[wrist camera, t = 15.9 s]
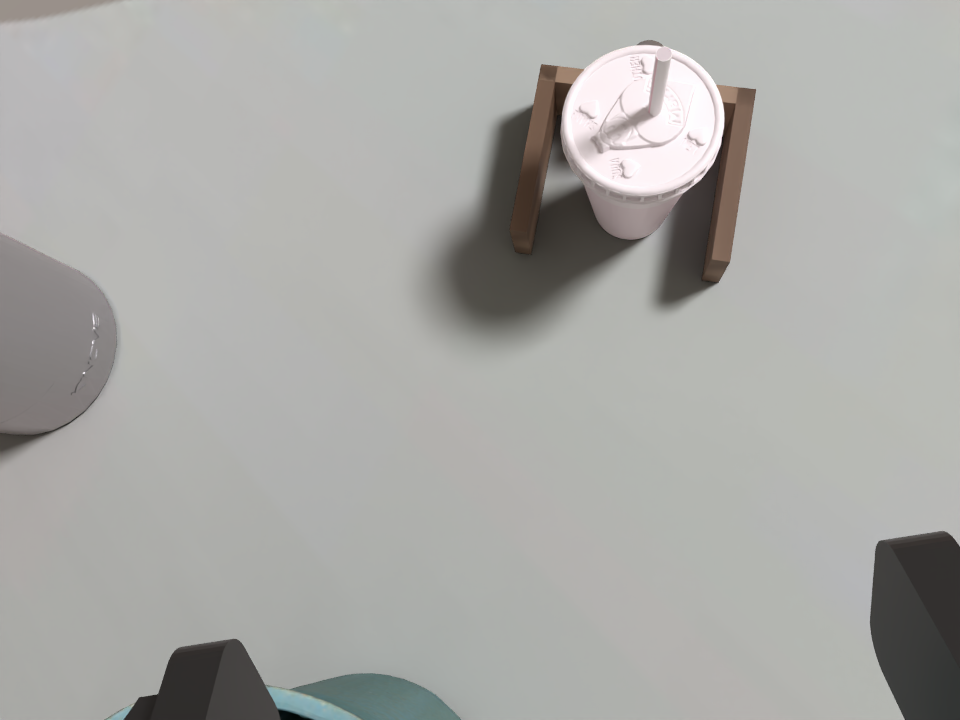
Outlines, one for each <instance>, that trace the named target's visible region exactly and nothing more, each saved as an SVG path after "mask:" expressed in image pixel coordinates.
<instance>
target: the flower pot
mask: <svg viewBox="0 0 960 720" xmlns="http://www.w3.org/2000/svg"><path fill="white" fill-rule="evenodd" d="M265 686H266V688H267V690H268V691H269V693H270V695H271V697H272V699H273V701H274V702H275V704H276V707H277V709H278V712H279V716H280V720H461V719H460V718H459V717H458V716H457V715H456V714H455V713H454V712H453V711H452V710H451V709H450V708H449V707H448V706H447V705H446V704H445V703H444V702H443V701H442V700H441V699H440V698H438V697H437V696H436V695H435V694H434V693H432V692H430V691H429V690H427V689H425V688H423V687H421V686H419V685H417V684H415V683H412V682H410V681H407V680H404V679H401V678H397V677H393V676H388V675H381V674H372V673H371V674H351V675H344V676H340V677H336V678H331V679H327V680H323V681H320V682H316V683H313V684H308V685H304V686H299V687H296V688H293V689H284V688H280V687H274V686H268V685H265ZM157 695H158V694H157ZM134 704H135V703H134ZM134 704H132V705H130V706H128V707H126V708H124V709H122V710H120V711H118V712H116V713H115V714H113V715H112V716H110V717H108V718H107V719H105V720H124V718H125V717H126V715H127V714H128V713H129V711H130V710H131V708H132V707H133V706H134Z"/></svg>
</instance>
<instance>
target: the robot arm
mask: <svg viewBox="0 0 960 720" xmlns="http://www.w3.org/2000/svg"><path fill="white" fill-rule="evenodd" d="M116 346H117V336H116V324H115V320H114V316H113V312H112V309H111V307H110V305H109V303H108V301H107V299H106V297H105V295H104V293H103V292H102V291H101V290H100V289H99V288H98V286H97V285H96V284H95V283H94V282H93V281H92V280H91V279H89V278H88V277H87V276H85V275H84V274H82V273H81V272H80V271H78V270H76V269H74V268H72V267H69V266H67V265H65V264H63V263H61V262H59V261H57V260H55V259H53V258H51V257H49V256H47V255H45V254H43V253H41V252H39V251H37V250H35V249H33V248H31V247H29V246H27V245H25V244H23V243H21V242H19V241H17V240H15V239H13V238H11V237H9V236H7V235H4V234H2V233H0V432H1V433H8V434H14V435H36V434H40V433H44V432H48V431H52V430H54V429H56V428H59V427H61V426H63V425H65V424H67V423H69V422H70V421H72V420H73V419H74V418H76V417H77V416H78V415H80V414H81V413H82V412H84V411H85V410H86V409H87V408H88V406H89V405H90V404H91V403H92V402H93V401H94V400H95V399H96V398H97V396H98V395H99V393H100V391H101V390H102V388H103V386H104V385H105V383H106V381H107V380H108V377H109V374H110V371H111V369H112V366H113V363H114V359H115V352H116ZM870 628H871V635H872V641H873V645H874V649H875V653H876V656H877V659H878V662H879V665H880V667H881V670H882V672H883V674H884V677H885V679H886V681H887V683H888V685H889V687H890V689H891V691H892V693H893V695H894V698H895V700H896V702H897V704H898V706H899V708H900V710H901V712H902V714H903V717H904V719H905V720H960V546H959V545H958V543H957V542H956V541H955V539H954V538H953V537H952V536H951V535H950V534H948V533H947V532H945V531H939V532H933V533H926V534H920V535H913V536H907V537H901V538H894V539H888V540H881V541H879V542H878V544H877V546H876V551H875V563H874V576H873V589H872V601H871V614H870ZM124 720H280V716H279V712H278V709H277V707H276V704H275V702H274V701H273V699H272V697H271V695H270V693H269V691H268V690H267V688H266V686H265V684H264V682H263V680H262V679H261V677H260V675H259V673H258V671H257V669H256V668H255V666H254V664H253V662H252V660H251V658H250V657H249V655H248V653H247V651H246V649H245V648H244V646H243V644H242V643H241V642H240V641H239V640H237V639H230V640H223V641H217V642H211V643H204V644H198V645H191V646H185V647H180V648H178V649H176V650H175V651H174V653H173V654H172V656H171V657H170V660H169V662H168V665H167V668H166V671H165V674H164V678H163V681H162V684H161V687H160V690H159V693H158V695H152V696H145V697H139V699H138V700H137V702H136V703H135V704H134V706H133V707H132V708H131V710H130V711H129V713H128V714H127V715H126V717H125V718H124Z"/></svg>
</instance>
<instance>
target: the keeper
mask: <svg viewBox="0 0 960 720" xmlns="http://www.w3.org/2000/svg"><path fill="white" fill-rule="evenodd" d="M637 45H653V46H661V47H664V46H663V45H662V44H660V43H659V42H656V41H652V40H647V41H643V42H641V43H639V44H637ZM637 45H636V46H637ZM584 70H585V69H577V68H568V67H560V66H551V65H543V64H541V68H540V73H539V79H538V84H537V89H536V94H535V99H534V105H533V110H532V115H531V120H530V125H529V131H528V136H527V141H526V146H525V151H524V157H523V162H522V167H521V172H520V177H519V182H518V188H517V193H516V198H515V203H514V208H513V214H512V219H511V224H510V229H509V230H510V234H511V238H512V241H513V245H514V249H515V252H518V253H524V254H531V253H532V248H533V242H534V237H535V232H536V226H537V221H538V216H539V210H540V205H541V200H542V194H543V189H544V184H545V178H546V173H547V168H548V162H549V157H550V152H551V146H552V141H553V136H554V130H555V125H556V120H557V115H561V116H562V112H563V107H564V103H565V100H566V97H567V95H568V92H569V90H570V88H571V86H572V85H573V83H574V82H575V80H576V79H577V77H578V76H579V75H580V74H581V73H582V72H583V71H584ZM716 86H717V88H718V90H719V93H720V96H721V99H722V103H723V108H724V130H723V135H722V136H724V140H723V147H722V153H721V160H720V166H719V172H718V179H717V185H716V192H715V198H714V204H713V211H712V217H711V224H710V230H709V236H708V243H707V249H706V256H705V262H704V268H703V275H702V280H704V281H711V282H718V283H719V281H720V279H721V277H722V275H723V274H724V272H725V270H726V268H727V266H728V265H729V263H730V258H731V252H732V245H733V238H734V232H735V225H736V219H737V212H738V205H739V199H740V192H741V186H742V179H743V172H744V166H745V159H746V153H747V146H748V139H749V133H750V126H751V120H752V113H753V106H754V100H755V93H756V89H748V88H739V87H731V86H722V85H716Z"/></svg>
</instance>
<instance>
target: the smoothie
mask: <svg viewBox="0 0 960 720" xmlns="http://www.w3.org/2000/svg"><path fill="white" fill-rule="evenodd" d="M723 130H724V108H723V103H722V99H721V96H720V93H719V90H718V88H717V86H716V84H715V83H714V81H713V80H712V78H711V77H710V76H709V74H708V73H707V72H706V71H705V70H704V69H703V68H702V67H701V66H700V65H699V64H698V63H697V62H695V61H694V60H692V59H691V58H689V57H688V56H686V55H684V54H682V53H680V52H678V51H675V50H672V49H670V48H668V47H661V46H653V45H637V46H630V47H625V48H621V49H618V50H615V51H612V52H610V53H608V54H606V55H604V56H602V57H600V58H599V59H597V60H596V61H594V62H593V63H592V64H590V65H589V66H588V67H587V68H586V69H585V70H584V71H583V72H582V73H581V74H580V75H579V76H578V77H577V79H576V80H575V82H574V83H573V85H572V86H571V88H570V90H569V92H568V95H567V97H566V100H565V103H564V107H563V112H562V123H561V131H560V134H561V140H562V146H563V152H564V154H565V156H566V158H567V161H568V163H569V165H570V167H571V169H572V170H573V172H574V173H575V174H576V175H577V176H578V177H579V179H580V180H581V181H582V182H583V184H584V187H585V189H586V192H587V195H588V197H589V200H590V203H591V206H592V208H593V211H594V214H595V217H596V219H597V221H598V223H599V224H600V225H601V227H602V228H603V229H604V230H605V231H607V232H608V233H609V234H611V235H613V236H615V237H618V238H621V239H628V240H633V239H640V238H643V237H646V236H648V235H650V234H651V233H653V232H654V231H656V230H657V229H658V228H659V227H660V225H661V224H662V223H663V221H664V220H665V219H666V217H667V216H668V214H669V213H670V211H671V210H672V209H673V207H674V206H675V204H676V203H677V201H678V200H679V199H680V197H681V196H682V194H683V193H685V192H686V191H687V190H689V189H690V188H691V187H692V186H694V185H695V184H696V183H698V182H699V181H700V180H701V179H702V178H703V176H704V175H705V174H706V173H707V171H708V170H709V169H710V167H711V166H712V165H713V163H714V161H715V158H716V156H717V153H718V151H719V148H720V146H721V140H722V135H723Z"/></svg>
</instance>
